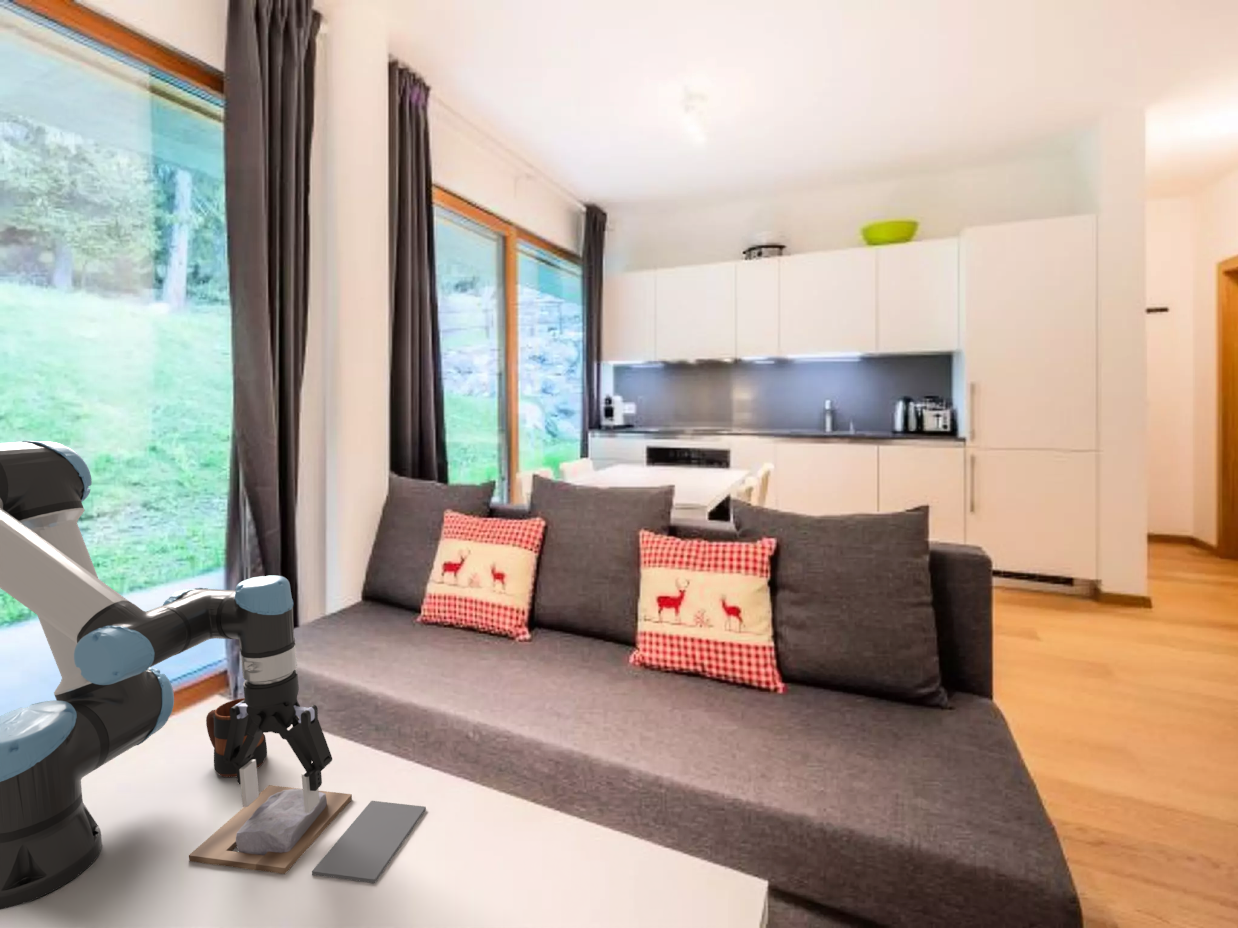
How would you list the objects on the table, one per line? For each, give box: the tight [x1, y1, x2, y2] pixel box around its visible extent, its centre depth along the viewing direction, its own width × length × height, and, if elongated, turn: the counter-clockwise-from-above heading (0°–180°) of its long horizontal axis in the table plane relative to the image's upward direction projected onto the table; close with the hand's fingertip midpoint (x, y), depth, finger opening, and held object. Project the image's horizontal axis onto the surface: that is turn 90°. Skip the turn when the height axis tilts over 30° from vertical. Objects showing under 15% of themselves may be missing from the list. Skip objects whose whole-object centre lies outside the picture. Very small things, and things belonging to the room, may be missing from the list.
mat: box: [311, 800, 427, 884], centre depth 96 cm, size 10×16×1 cm, turn 172°
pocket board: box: [188, 784, 353, 875], centre depth 99 cm, size 16×17×1 cm
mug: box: [205, 697, 268, 778], centre depth 116 cm, size 9×12×12 cm
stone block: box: [236, 787, 327, 855], centre depth 98 cm, size 12×5×10 cm
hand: (281, 804), depth 99 cm, fingers open, 10 cm apart
